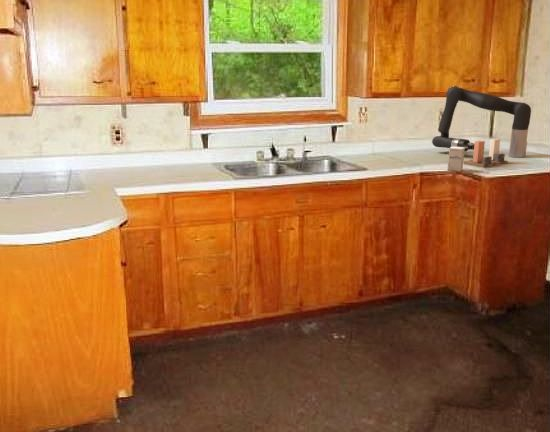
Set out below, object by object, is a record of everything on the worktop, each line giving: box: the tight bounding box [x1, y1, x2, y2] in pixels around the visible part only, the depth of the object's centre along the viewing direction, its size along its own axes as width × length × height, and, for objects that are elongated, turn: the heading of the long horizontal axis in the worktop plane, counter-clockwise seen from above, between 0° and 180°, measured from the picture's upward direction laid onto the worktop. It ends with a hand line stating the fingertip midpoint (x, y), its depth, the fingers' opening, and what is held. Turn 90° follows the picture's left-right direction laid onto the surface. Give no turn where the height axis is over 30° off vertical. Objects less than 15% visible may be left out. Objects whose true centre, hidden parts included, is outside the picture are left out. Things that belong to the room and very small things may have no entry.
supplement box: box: [447, 146, 466, 172], centre depth 297 cm, size 7×7×13 cm
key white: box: [488, 138, 501, 160], centre depth 316 cm, size 5×3×12 cm, turn 121°
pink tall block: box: [472, 140, 486, 163], centre depth 309 cm, size 5×3×12 cm, turn 121°
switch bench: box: [463, 153, 509, 168], centre depth 314 cm, size 22×14×6 cm, turn 121°
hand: (483, 148), depth 322 cm, fingers closed
